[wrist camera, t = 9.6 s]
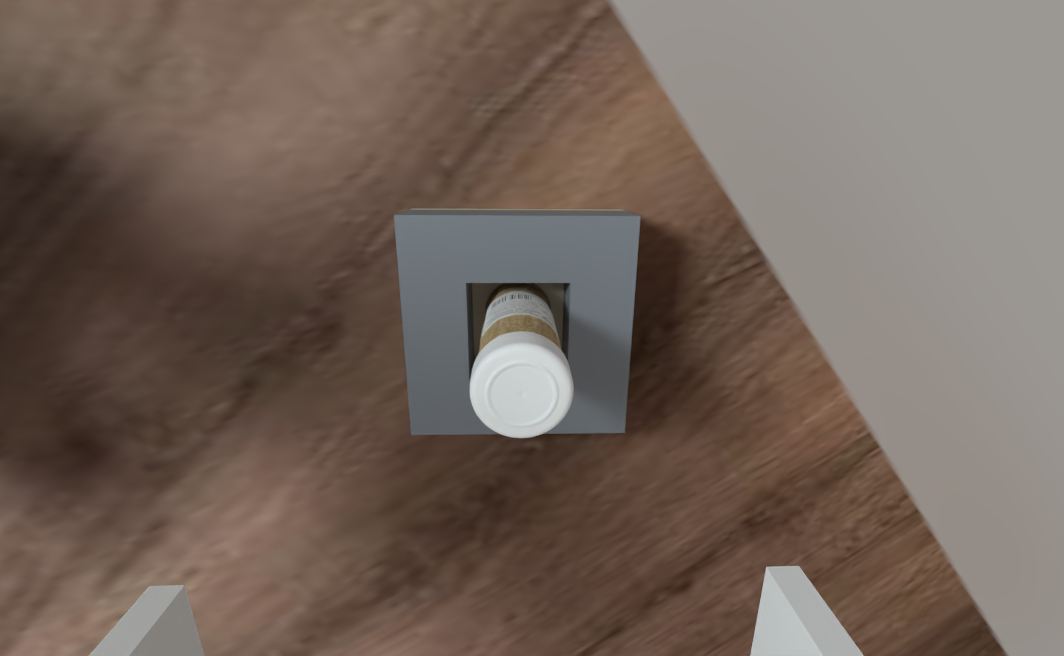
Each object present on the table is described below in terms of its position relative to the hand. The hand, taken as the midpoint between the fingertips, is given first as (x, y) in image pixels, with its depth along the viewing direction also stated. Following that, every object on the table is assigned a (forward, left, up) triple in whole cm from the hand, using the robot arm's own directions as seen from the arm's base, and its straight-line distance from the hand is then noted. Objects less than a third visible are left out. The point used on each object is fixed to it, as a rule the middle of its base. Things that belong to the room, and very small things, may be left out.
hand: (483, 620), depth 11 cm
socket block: (+1, 0, -25) cm, 25 cm away
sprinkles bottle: (+1, +1, -24) cm, 24 cm away
